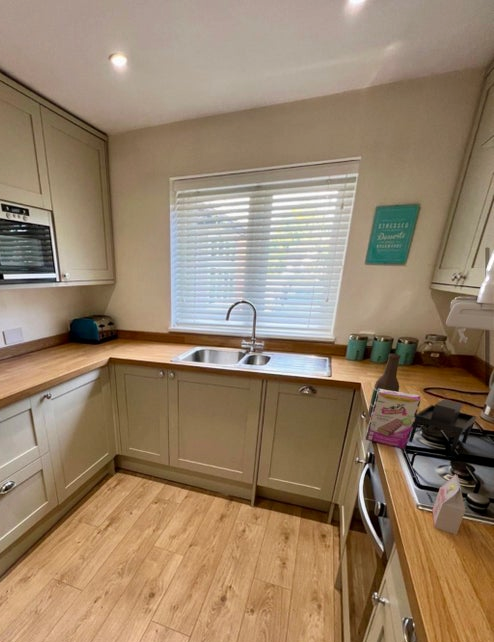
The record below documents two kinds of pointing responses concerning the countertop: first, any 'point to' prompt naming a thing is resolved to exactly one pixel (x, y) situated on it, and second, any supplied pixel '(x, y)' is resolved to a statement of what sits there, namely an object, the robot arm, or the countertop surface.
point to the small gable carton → (449, 506)
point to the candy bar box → (392, 418)
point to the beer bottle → (387, 379)
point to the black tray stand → (445, 425)
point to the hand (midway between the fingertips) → (482, 345)
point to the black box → (446, 411)
